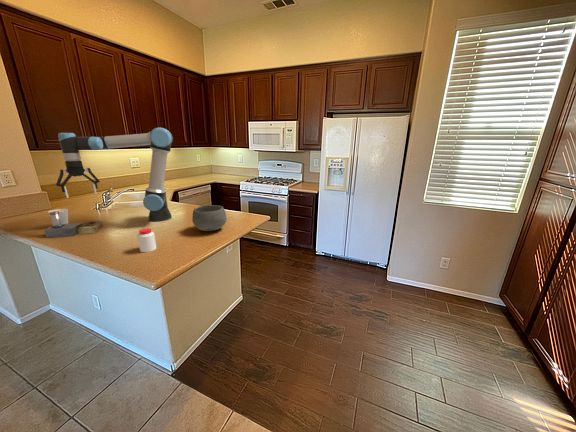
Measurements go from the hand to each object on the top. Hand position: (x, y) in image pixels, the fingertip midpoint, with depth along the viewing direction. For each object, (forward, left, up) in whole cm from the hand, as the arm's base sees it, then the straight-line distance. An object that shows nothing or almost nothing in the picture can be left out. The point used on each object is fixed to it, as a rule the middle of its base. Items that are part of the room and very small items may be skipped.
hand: (82, 195), depth 146 cm
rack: (0, -1, -23) cm, 23 cm away
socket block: (+10, +6, -23) cm, 25 cm away
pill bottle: (-46, +39, -23) cm, 64 cm away
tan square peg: (-1, +6, -23) cm, 23 cm away
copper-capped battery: (+13, +6, -23) cm, 27 cm away
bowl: (-75, +14, -23) cm, 80 cm away
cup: (+21, -10, -23) cm, 33 cm away
